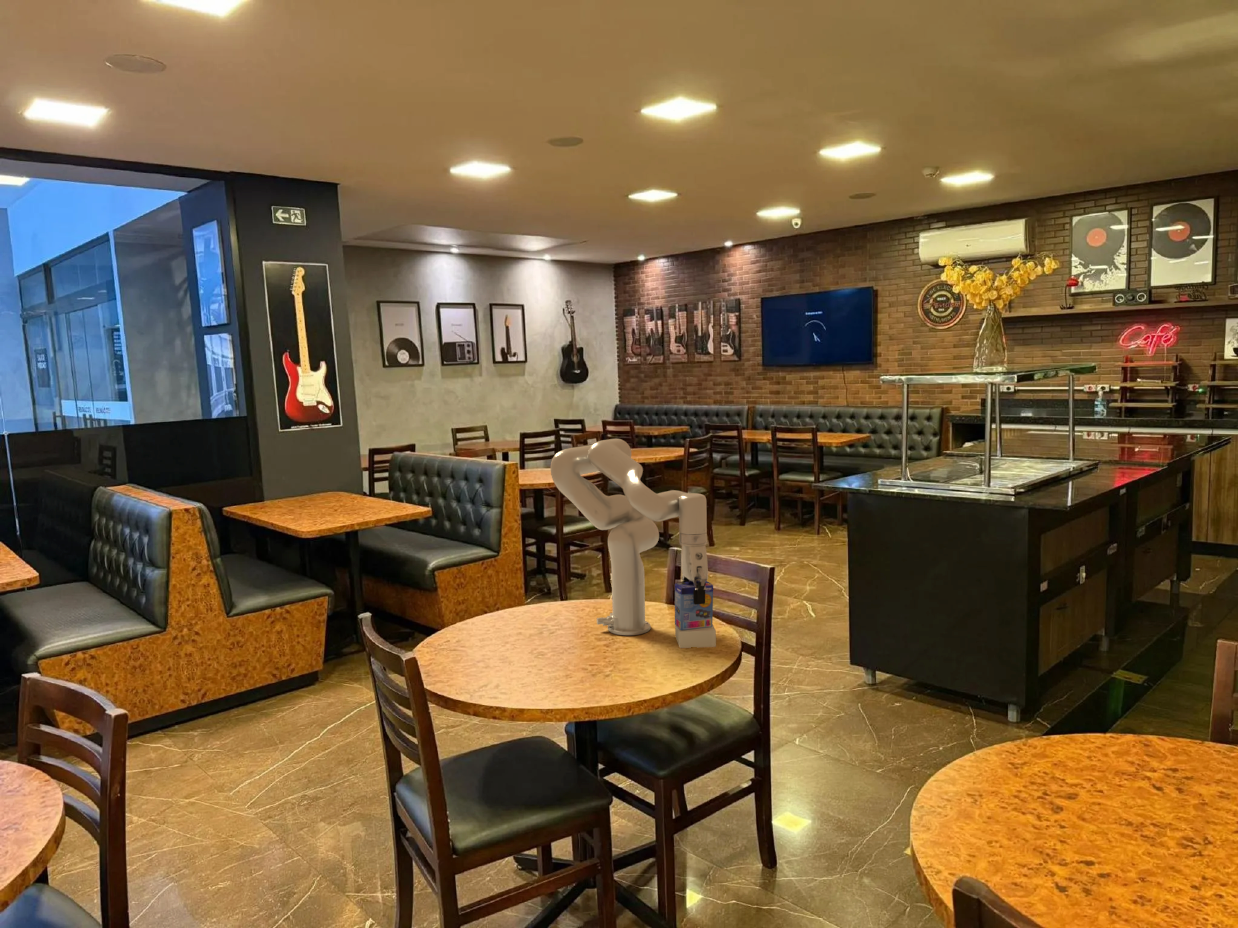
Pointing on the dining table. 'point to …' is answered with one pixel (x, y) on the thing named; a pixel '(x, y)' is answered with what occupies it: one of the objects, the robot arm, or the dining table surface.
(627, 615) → the robot arm
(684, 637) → the base block
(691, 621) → the ink cartridge box
